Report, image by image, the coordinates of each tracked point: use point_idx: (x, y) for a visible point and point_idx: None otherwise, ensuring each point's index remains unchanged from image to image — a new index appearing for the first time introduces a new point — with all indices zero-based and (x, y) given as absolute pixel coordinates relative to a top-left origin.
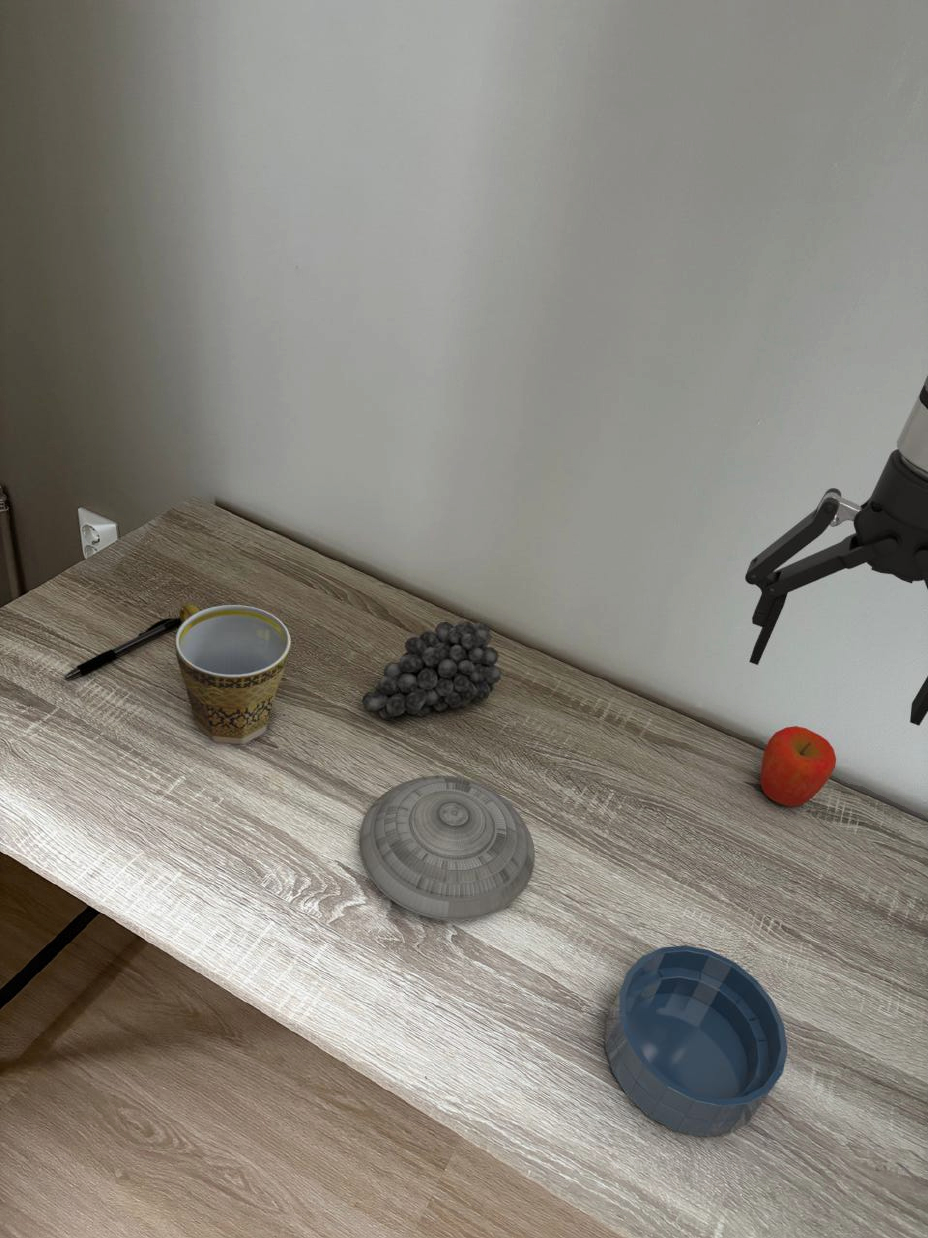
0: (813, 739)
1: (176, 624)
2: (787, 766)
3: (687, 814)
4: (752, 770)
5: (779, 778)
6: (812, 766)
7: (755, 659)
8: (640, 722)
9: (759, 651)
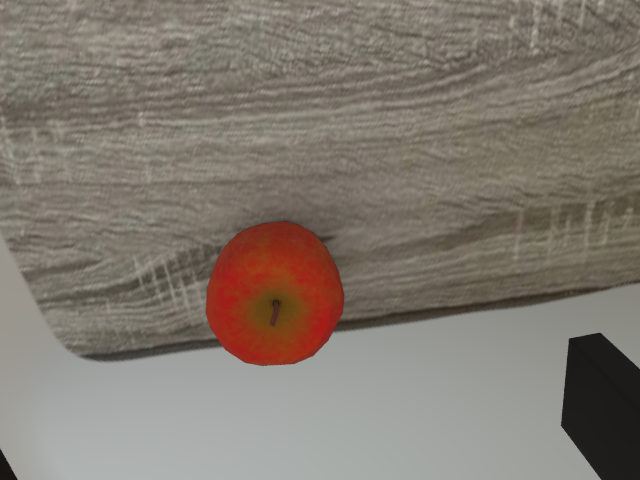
0: (270, 345)
1: None
2: (288, 248)
3: (396, 93)
4: None
5: (289, 230)
6: (244, 273)
7: (596, 348)
8: (528, 241)
9: (623, 375)
